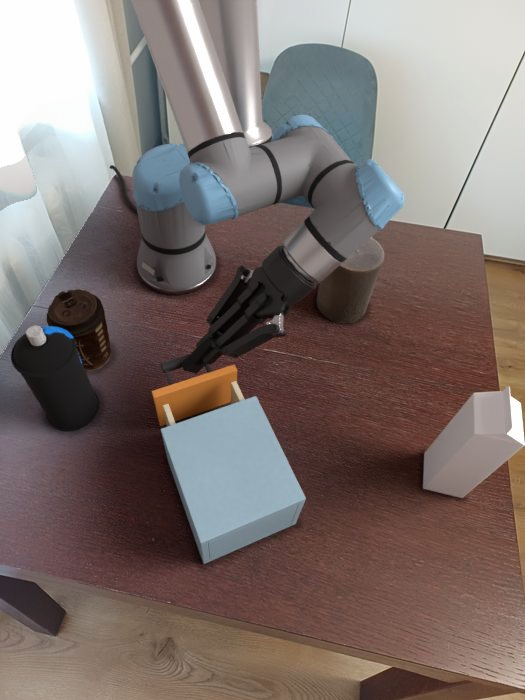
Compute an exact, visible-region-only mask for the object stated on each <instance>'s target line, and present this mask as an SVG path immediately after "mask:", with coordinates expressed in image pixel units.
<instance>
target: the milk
mask: <svg viewBox="0 0 525 700" xmlns="http://www.w3.org/2000/svg"><path fill="white" fill-rule="evenodd" d="M524 447H525V433H524V422H523V412H522V403H521V402H520V401H518V400H517V399H516V398H514V397H513V396H511V386H510V385H507V386H506V387H505V388H504V389H503V390H496V391H495V390H494V391H479V392H478V391H477V392H473V393H472V394H471V395H470V397H469V398H468V399H467V400H466V401H465V402H464V404H463V405H462V407H461V408H459V410H458V411H457V412H456V414H455V415H454V416H453V417H452V419H450V421H449V422H448V423H447V425H446V426H445V427H444V429H442V430H441V432H440V433H439V435H437V437H436V438H435V439H434V441H432V443H430V446H428V448H427V449H426V450H425V452H424V453H423V475H422V477H423V478H422V483H423V484H422V489H423V490H426V491H431V492H435V493H439V494H443V495H448V496H451V497H456V498H460V499H463V498H464V497H466V496H467V495H469V493H470V492H471V491H473V490H474V489H475V488H477V486H479V485H480V484H481V483H482V482H483V481H484V480H486V479H487V478H488V477H489V476H491V475H492V474H493V473H494V472H495V471H496V470H498V469H499V468H500V467H501V466H502V465H503V464H505V463H506V462H507V461H508V460H509V459H511V458H512V457H513V456H514V455H516V453H518V452H519V451H520V450H522V449H523V448H524Z"/></svg>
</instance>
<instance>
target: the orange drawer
mask: <svg viewBox="0 0 525 700" xmlns="http://www.w3.org/2000/svg"><path fill="white" fill-rule="evenodd" d="M190 354H191V353H188V354H186V355H183V356H179V357H177V358H173V359H170V360H167V361H164V362H161V363H160V367H161V369H162V373H163V374H165V376H166V379H167V381H168V384H169V385H166V386H162V387H160V388H157V389H154V390H151V395H152V400H153V404H154V408H155V412H156V416H157V421H158V424H159V427H163V426H166V427H168V426H171V425H174V424H177V423H176V422H177V421H181V420H183V419H186V418H189V417H192V416H195V415H198V414H201V413H204V412H207V411H210V410H213V409H216V408H219V407H221V406H224V405H227V404H229V403H230V405H231V404H234V403H237V402H240V401H243V400H245V399H246V398H245V396H244V395H243V393H242V391H241V388H240V386H239V384H238V369H237V367H236V364H231V365H228V366H225V367H221V368H219V369H216V370H212V368H211V366H210V364H206V365H205V366H204V368H205V371H206V373H203V374H200V375H197V376H194V377H191V378H188V379H185V380H182V381H178V382H174V380H173V378H172V374H171V372H172V371H176V370H179V369H183V367H182V365H181V362H182V361H183V360H185V359H186V358H187V357H188V356H189V355H190Z"/></svg>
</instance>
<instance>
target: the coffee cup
mask: <svg viewBox="0 0 525 700" xmlns="http://www.w3.org/2000/svg"><path fill="white" fill-rule="evenodd" d="M45 319H46V324H47V326H54V327H59V328H63V329H64V330H66V331H68V332H69V333H70V334H71V335H72V336H73V337H74V339H75V342H76V350H77V352H78V354H79V357H80V359H81V362H82V364H83V366H84V369H85V371H86V372H95V371H97V370H99V369H101V368H102V367H104V366H105V365H106V364H107V363H108V361H109V360H110V358H111V355H112V349H111V341H110V332H109V328H108V323H107V319H106V312H105V308H104V305H103V303H102V301H101V299H100V298H99V297H98V296H97V295H95V294H94V293H91V292H90V291H88V290H86V289H80V288H79V289H78V288H76V289H74V290H73V289H68V290H67V291H60V292H59V293H58V294H57V295H55V296H54V298H53V300H52V302H51V304H49V306H48V310H47V312H46V318H45Z"/></svg>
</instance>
